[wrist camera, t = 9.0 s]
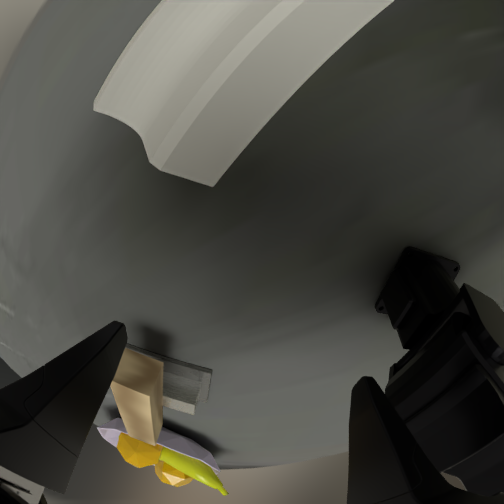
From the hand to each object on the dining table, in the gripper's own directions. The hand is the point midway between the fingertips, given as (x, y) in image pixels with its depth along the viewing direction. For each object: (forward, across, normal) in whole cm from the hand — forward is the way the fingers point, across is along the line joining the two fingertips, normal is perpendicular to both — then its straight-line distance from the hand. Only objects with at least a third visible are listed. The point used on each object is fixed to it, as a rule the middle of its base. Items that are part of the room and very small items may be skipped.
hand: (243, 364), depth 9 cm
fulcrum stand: (+12, +9, +23) cm, 27 cm away
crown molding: (+13, +2, -18) cm, 22 cm away
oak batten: (+8, +9, +23) cm, 26 cm away
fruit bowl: (+12, +9, +52) cm, 54 cm away
